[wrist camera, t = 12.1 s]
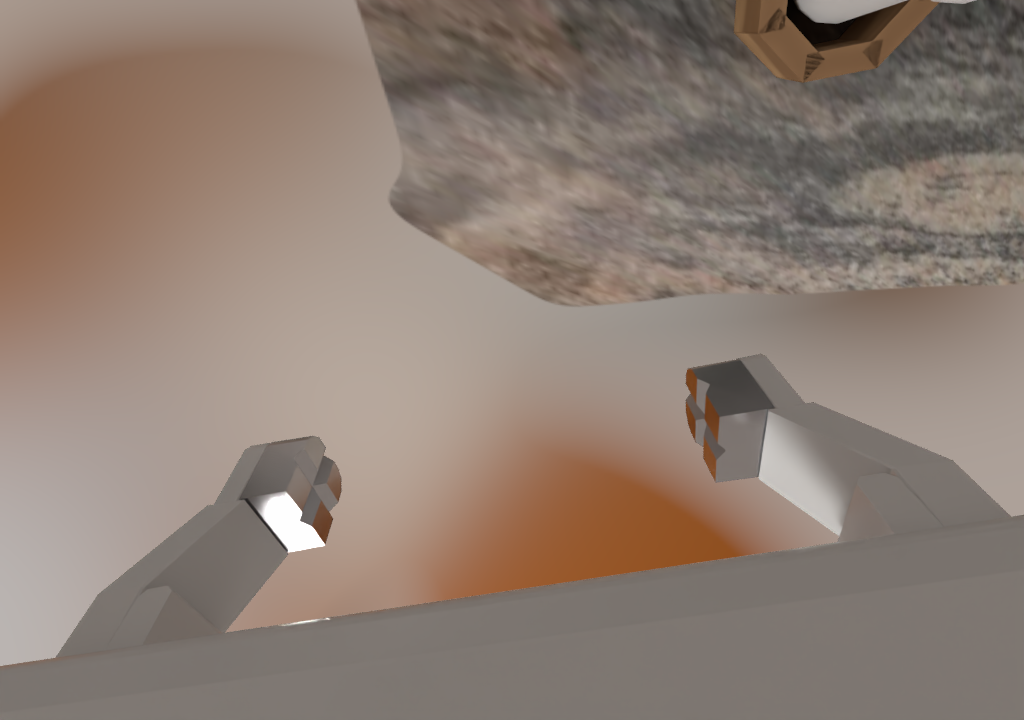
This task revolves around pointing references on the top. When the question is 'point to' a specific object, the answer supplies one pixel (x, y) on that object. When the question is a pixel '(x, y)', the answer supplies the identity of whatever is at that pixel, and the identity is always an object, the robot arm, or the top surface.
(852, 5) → the salt shaker
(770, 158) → the top surface
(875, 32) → the walnut ring
